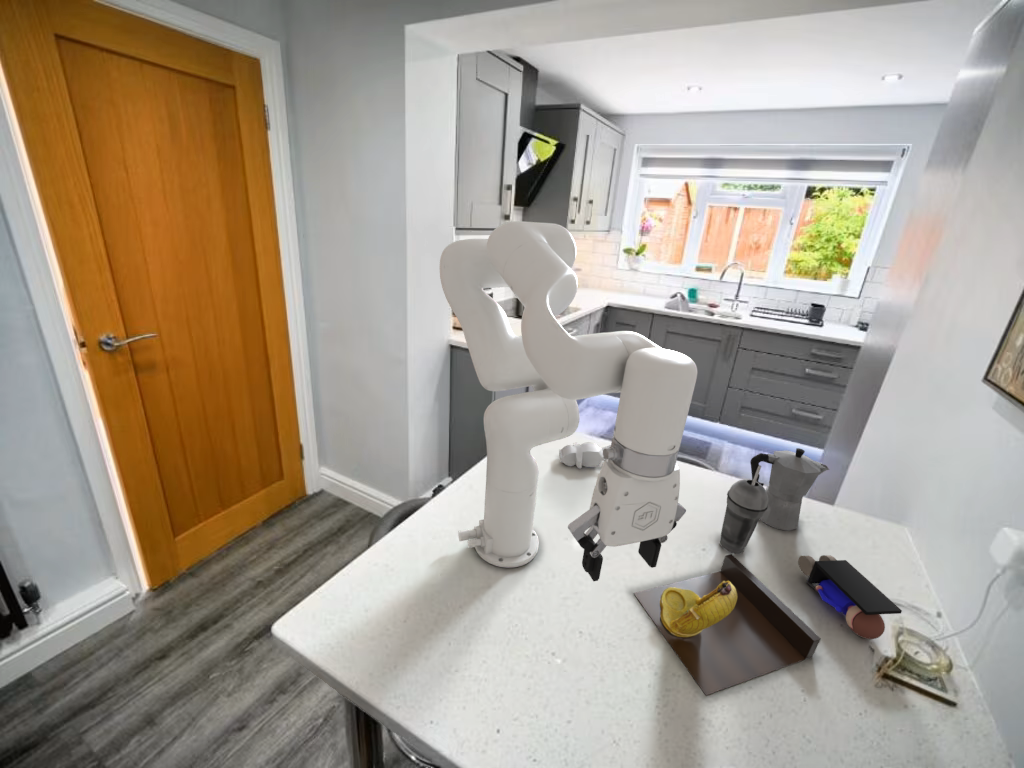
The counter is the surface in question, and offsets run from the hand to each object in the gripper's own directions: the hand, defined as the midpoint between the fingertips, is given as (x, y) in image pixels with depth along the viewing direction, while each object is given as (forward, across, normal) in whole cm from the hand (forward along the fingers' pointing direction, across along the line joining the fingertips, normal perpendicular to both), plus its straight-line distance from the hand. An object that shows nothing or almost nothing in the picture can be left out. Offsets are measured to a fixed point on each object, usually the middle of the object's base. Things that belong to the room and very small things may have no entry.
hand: (619, 565), depth 58 cm
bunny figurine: (+18, +24, +49) cm, 57 cm away
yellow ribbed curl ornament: (+18, +16, 0) cm, 24 cm away
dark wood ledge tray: (+18, +22, 0) cm, 28 cm away
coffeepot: (+18, +55, +19) cm, 61 cm away
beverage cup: (+18, +39, +14) cm, 45 cm away
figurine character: (+18, +46, -3) cm, 50 cm away
